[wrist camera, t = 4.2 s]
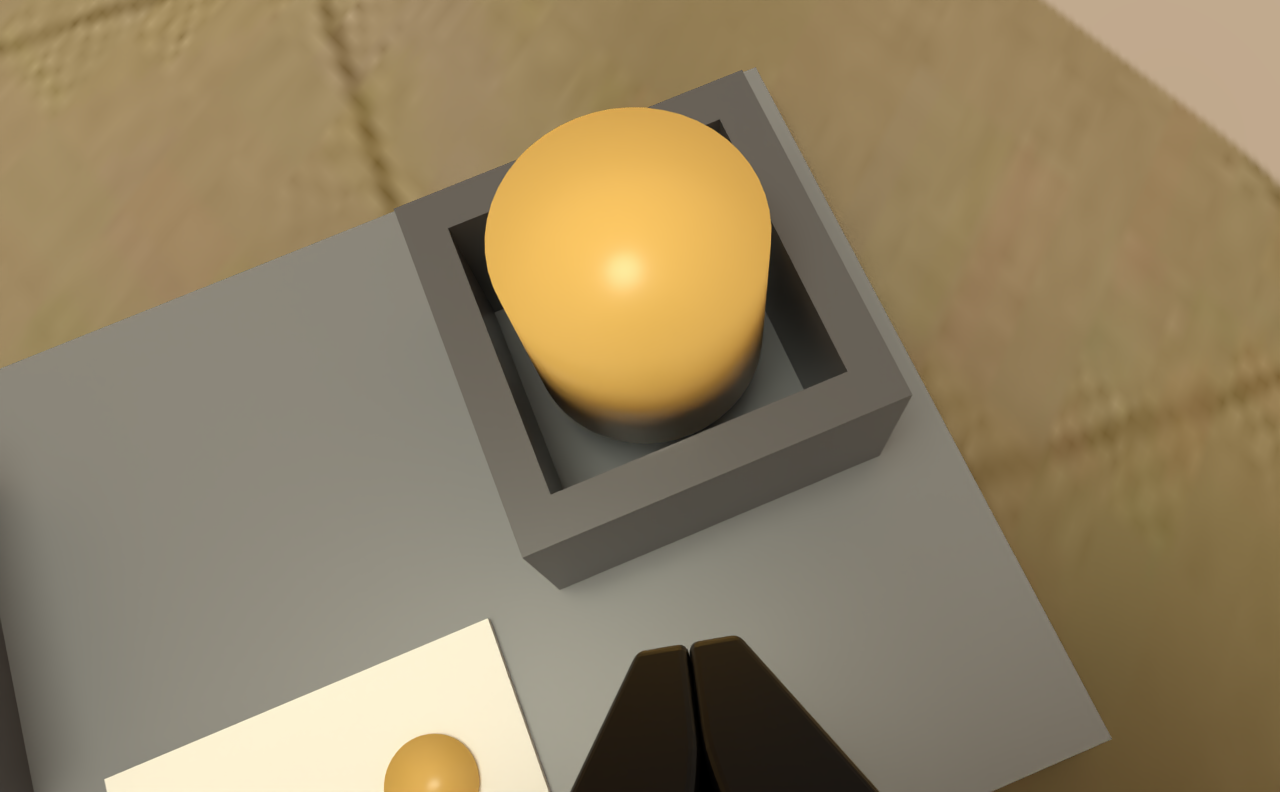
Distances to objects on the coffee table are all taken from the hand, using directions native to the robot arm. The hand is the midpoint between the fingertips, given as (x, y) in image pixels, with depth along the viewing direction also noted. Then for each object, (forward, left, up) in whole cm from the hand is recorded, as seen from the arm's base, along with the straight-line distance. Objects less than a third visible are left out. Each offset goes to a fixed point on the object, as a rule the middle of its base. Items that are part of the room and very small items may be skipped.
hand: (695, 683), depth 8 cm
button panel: (+7, +6, -14) cm, 16 cm away
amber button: (+6, -3, -10) cm, 12 cm away
